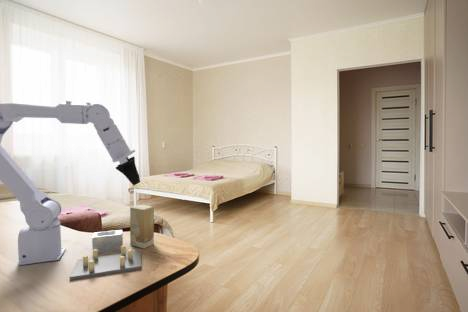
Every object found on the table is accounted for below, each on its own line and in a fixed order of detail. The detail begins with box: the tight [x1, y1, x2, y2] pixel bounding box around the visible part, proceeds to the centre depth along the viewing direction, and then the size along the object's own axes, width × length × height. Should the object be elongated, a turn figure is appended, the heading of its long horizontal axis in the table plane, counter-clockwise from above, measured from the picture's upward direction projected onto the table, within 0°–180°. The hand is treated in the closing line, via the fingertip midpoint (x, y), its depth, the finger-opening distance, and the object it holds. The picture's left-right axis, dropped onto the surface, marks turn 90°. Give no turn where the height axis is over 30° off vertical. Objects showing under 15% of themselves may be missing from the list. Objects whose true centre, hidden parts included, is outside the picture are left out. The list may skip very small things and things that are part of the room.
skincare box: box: [129, 203, 155, 249], centre depth 85 cm, size 6×4×12 cm
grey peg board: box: [69, 245, 142, 281], centre depth 71 cm, size 16×10×3 cm, turn 110°
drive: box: [91, 229, 124, 254], centre depth 82 cm, size 8×4×5 cm, turn 110°
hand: (136, 181), depth 84 cm, fingers open, 7 cm apart
